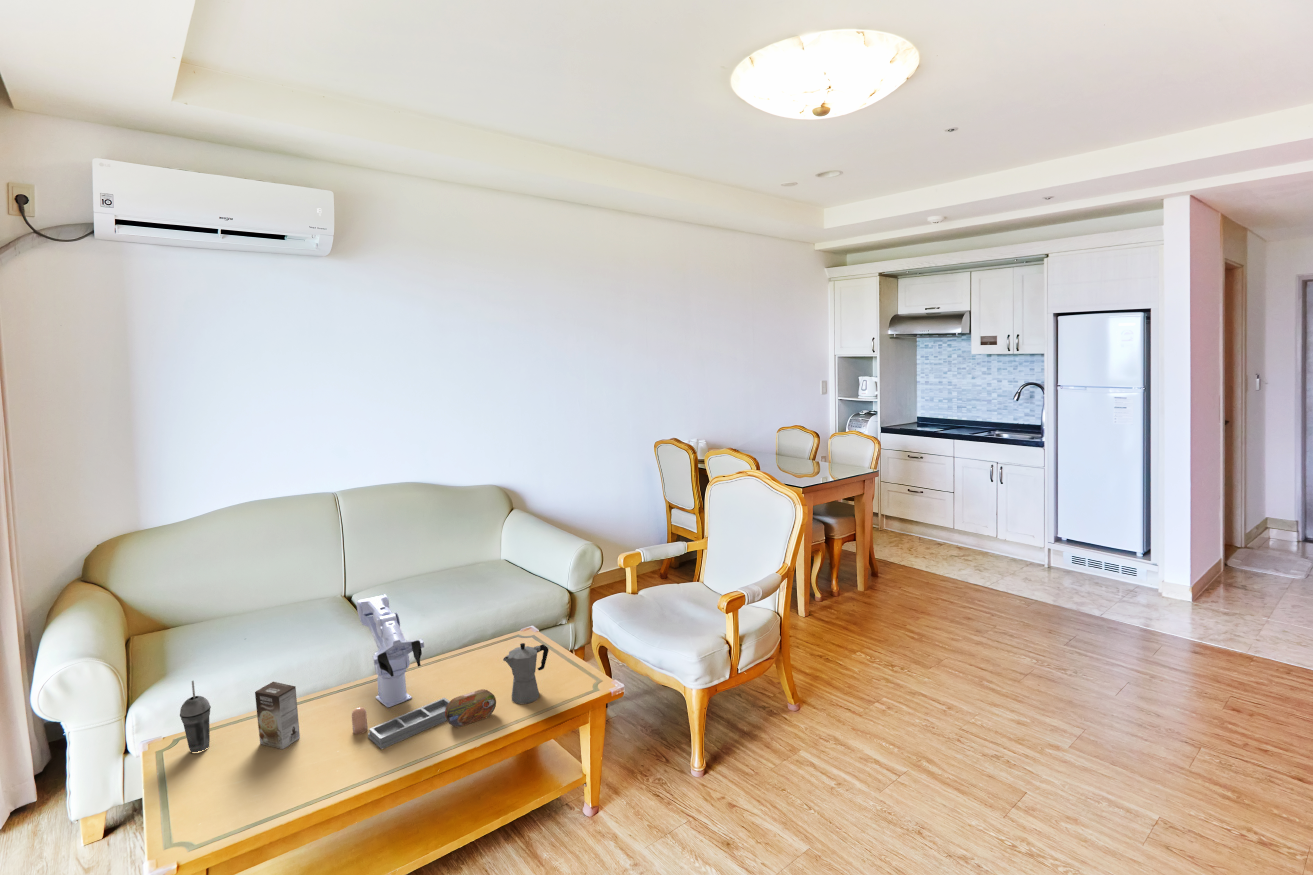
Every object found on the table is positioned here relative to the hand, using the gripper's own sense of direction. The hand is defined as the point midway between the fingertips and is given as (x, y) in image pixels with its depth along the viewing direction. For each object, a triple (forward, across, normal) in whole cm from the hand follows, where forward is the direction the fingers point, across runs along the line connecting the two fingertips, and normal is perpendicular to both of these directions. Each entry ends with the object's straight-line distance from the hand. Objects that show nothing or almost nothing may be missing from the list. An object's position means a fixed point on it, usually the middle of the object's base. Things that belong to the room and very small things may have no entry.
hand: (405, 668), depth 195 cm
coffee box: (-9, -35, +18) cm, 41 cm away
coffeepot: (+8, +33, +22) cm, 41 cm away
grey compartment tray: (+5, -1, +18) cm, 18 cm away
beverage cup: (-18, -55, +17) cm, 60 cm away
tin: (+12, +14, +18) cm, 26 cm away
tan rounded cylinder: (-2, -15, +18) cm, 24 cm away
